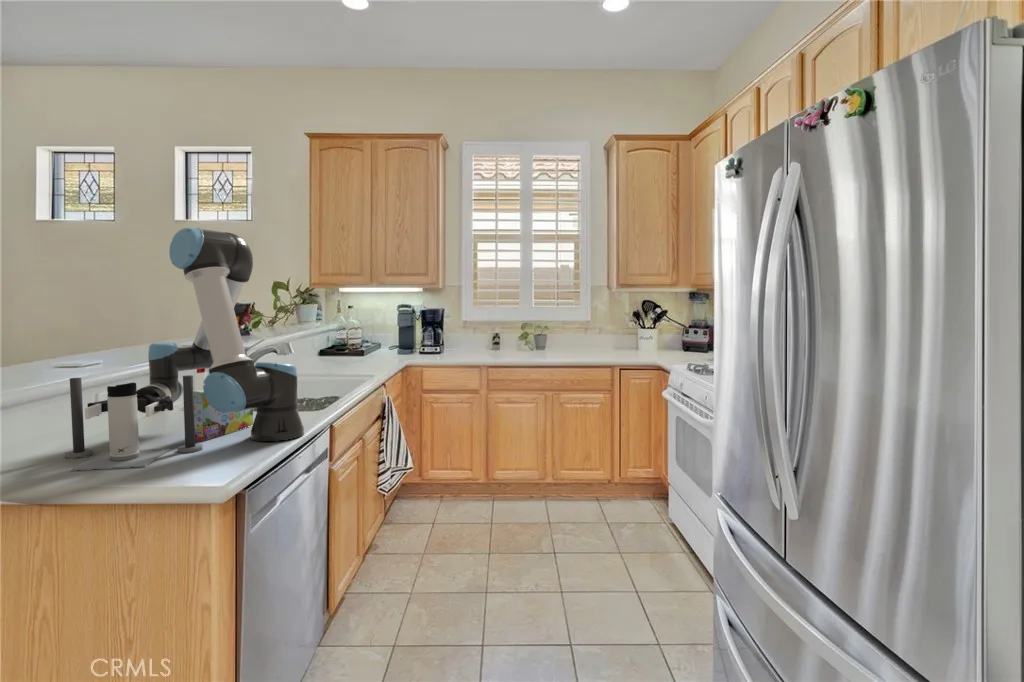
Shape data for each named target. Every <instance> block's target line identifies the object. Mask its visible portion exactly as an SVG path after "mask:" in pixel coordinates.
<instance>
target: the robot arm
mask: <svg viewBox="0 0 1024 682" xmlns="http://www.w3.org/2000/svg"><path fill="white" fill-rule="evenodd" d="M169 260H170V262H171V264H172V265H173V266H174V267H175V268H178V270H179V269H180V270H182V271H183V274H184V278H185V279H186V280H187V281H189V282H191V283H192V285H193V289H194V294H195V296H196V300H197V301H196V302H197V305H198V308H199V313H200V317H201V321H200V324H199V327H198V329H197V331H196V335H195V337H194V340H193V343H192V345H191V346H184V347H183V346H181V347H180V346H179V347H178V344H177V343H176V342H173V341H172V342H169V341H168V342H163V341H161V342H153V343H151V344H149V346H148V354H147V355H148V358H147V359H148V368H149V369H148V371H149V384H148V385H145V386H144V387H141V388H139V389H137V390H136V392H137V396H136V397H137V408H138V412H140V413H142V414H143V413H144V414H145V418H148V417H151V416H153V415H155V414H157V413H160V412H164V411H166V410H167V411H170V412H171V411H174V403H175V402H176V401H177V400H179V399H180V398H181V397H182V395H183V384H182V383H181V382H180V381H179V372H183V371H184V372H186V371H191V370H202V369H204V370H206V369H208V375H207V376H206V377H205V379H204V382H203V383H204V384H203V388H202V389H203V390H204V395H205V397H206V400H207V401H208V403H209V404H210V405H211V406H212V407H213V408H214V409H216V410H217V411H219V412H222V413H229V412H238V411H241V410H246V409H250V408H253V409H254V408H256V414H255V418H254V419H253V426H252V427H251V429H250V440H252V439H253V440H252V441H254V440H257V441H256V442H260V441H276V442H280V441H279V440H285V441H289V440H288V439H291V440H294V439H293V438H295V439H298V438H301V437H303V436H304V435H305V428H304V425H303V422H302V419H301V415H300V414H299V410H298V377H299V376H298V374H297V366H295V365H294V364H293V363H287V362H283V363H282V362H269V361H268V362H266V361H256V363H254V359H252V358H250V357H249V356H247V354H246V351H245V347H244V343H243V339H242V335H241V332H240V327H239V324H238V323H239V322H238V319H237V316H236V315H237V314H236V312H235V306H236V304H237V302H238V300H239V296H240V293H241V291H242V289H243V286H244V284H246V283H248V282H249V281H250V278H251V276H252V271H253V269H254V268H253V267H254V257H253V253H252V250H251V248H250V246H249V245H248V243H247V242H246V241H245V239H244V238H242V237H241V236H239V235H237V234H235V233H233V232H225V231H224V232H223V231H216V230H210V229H204V228H202V229H201V228H199V227H195V228H192V227H183V228H181V229H179V230H178V231H177V232H176V233H175V234H174V236H172V239H171V242H170V244H169ZM106 412H107V413H108V400H107V399H106V400H99V401H94V402H89V403H88V402H87V407H85V408H84V419H85V420H89V419H92V418H94V417H98V416H100V415H101V414H102V413H106ZM297 437H298V438H297Z"/></svg>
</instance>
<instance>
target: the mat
mask: <svg viewBox="0 0 1024 682" xmlns="http://www.w3.org/2000/svg"><path fill="white" fill-rule="evenodd" d="M168 450H169V451H170V448H151V449H139V457H137V458H135V459H131V460H126V461H112V460H110V450H109V451H107V450H106V451H102V452H101V453H99V454H97V455H95V456H93V457H91V458H89V459H87V460H86V461H84V462H82V463H80V464H78V465H76V466H74V467H73V468H71V469H70V472H78V471H77V470H87V471H94V470H93V469H105V470H112V469H111V468H124V469H131V468H130V467H142V468H146V467H147V466H146V465H148V464H149V463H150V464H152V463H153V462H155V461H156V460H157V458H158V457H159V458H161V457H162V456H163V455H165V454H166V453H168V452H169V451H168ZM167 451H168V452H167ZM165 452H166V453H165ZM164 453H165V454H164ZM162 454H163V455H162ZM161 455H162V456H161ZM160 456H161V457H160ZM159 458H158V459H159ZM155 459H156V460H155ZM154 460H155V461H154ZM152 461H153V462H152ZM151 462H152V463H151ZM150 464H149V465H150ZM149 465H148V466H149ZM145 466H146V467H145ZM91 469H92V470H91Z"/></svg>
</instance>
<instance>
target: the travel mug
mask: <svg viewBox="0 0 1024 682" xmlns="http://www.w3.org/2000/svg"><path fill="white" fill-rule="evenodd" d="M106 387H107V388H106V390H107V397H106V398H107V399H106V400H108V412H107V417H108V418H107V421H108V440H109V441H108V442H109V446H108V447H109V451H110V460H112V461H126V460H131V459H135V458H137V457H139V450H140V444H139V443H140V441H139V439H140V438H139V437H140V436H139V415H138V413H139V411H138V408H137V397H136V396H137V392H136V391H137V390H138V389H137V382H128V383H123V384H116V385H114V386H110V385H109V386H106Z"/></svg>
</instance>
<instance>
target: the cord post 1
mask: <svg viewBox="0 0 1024 682" xmlns="http://www.w3.org/2000/svg"><path fill="white" fill-rule="evenodd" d="M82 383H83V382H82V377H71V378H69V391H70V412H71V432H72V433H71V434H72V450H70V451H66V452H64V458H65V457H66V458H65V459H67V458H76V459H78V458H77V457H83V458H85V457H84V456H88V457H90V456H89V455H91V454H93V455H94V449H93V448H86V447H85V429H84V410H83V409H84V408H83V407H84V406H83V384H82ZM91 456H92V455H91Z"/></svg>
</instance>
